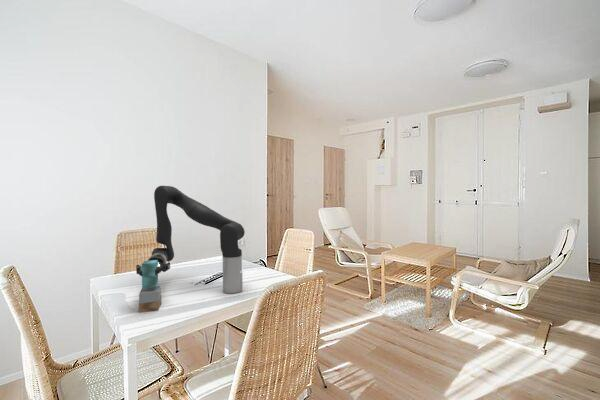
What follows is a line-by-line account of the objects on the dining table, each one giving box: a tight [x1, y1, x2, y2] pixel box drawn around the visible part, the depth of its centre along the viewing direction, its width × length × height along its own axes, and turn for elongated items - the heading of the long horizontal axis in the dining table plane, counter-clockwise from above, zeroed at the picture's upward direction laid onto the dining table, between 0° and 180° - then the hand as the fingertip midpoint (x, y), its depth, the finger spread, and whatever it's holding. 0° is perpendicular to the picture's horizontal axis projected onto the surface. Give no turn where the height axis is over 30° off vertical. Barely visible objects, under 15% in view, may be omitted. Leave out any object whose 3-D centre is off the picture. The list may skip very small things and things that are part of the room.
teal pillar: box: [141, 260, 159, 289], centre depth 115 cm, size 5×5×10 cm
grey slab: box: [138, 285, 162, 305], centre depth 115 cm, size 7×7×4 cm
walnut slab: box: [138, 295, 162, 314], centre depth 115 cm, size 7×7×4 cm
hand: (148, 273), depth 113 cm, fingers closed on teal pillar, 5 cm apart
